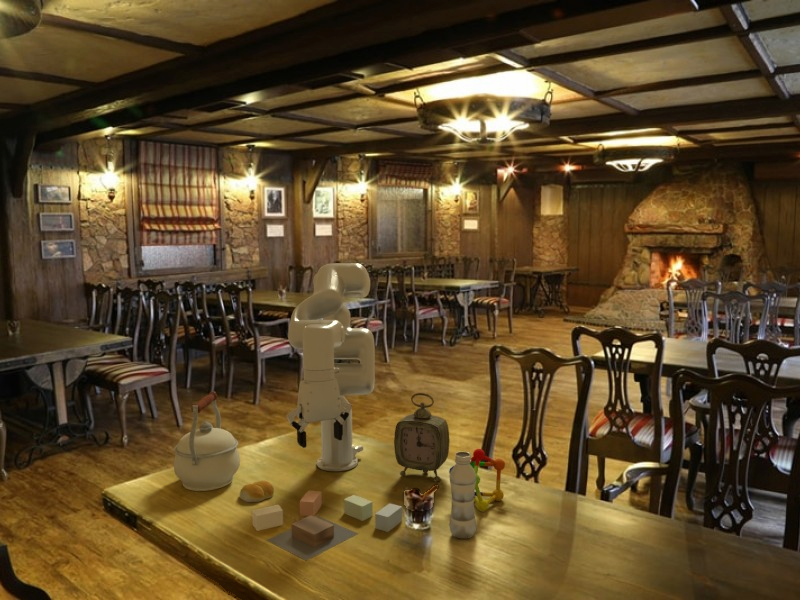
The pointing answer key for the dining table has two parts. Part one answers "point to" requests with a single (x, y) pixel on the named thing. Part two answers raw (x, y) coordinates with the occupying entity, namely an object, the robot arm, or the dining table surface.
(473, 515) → the plastic bottle
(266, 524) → the brick cream
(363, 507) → the brick sage
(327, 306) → the robot arm
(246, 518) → the dining table surface
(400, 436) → the tabletop clock
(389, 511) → the grey block
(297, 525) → the brick walnut
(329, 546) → the slate board
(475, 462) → the educational toy
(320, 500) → the brick terracotta
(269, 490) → the bread roll
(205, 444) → the kettle
